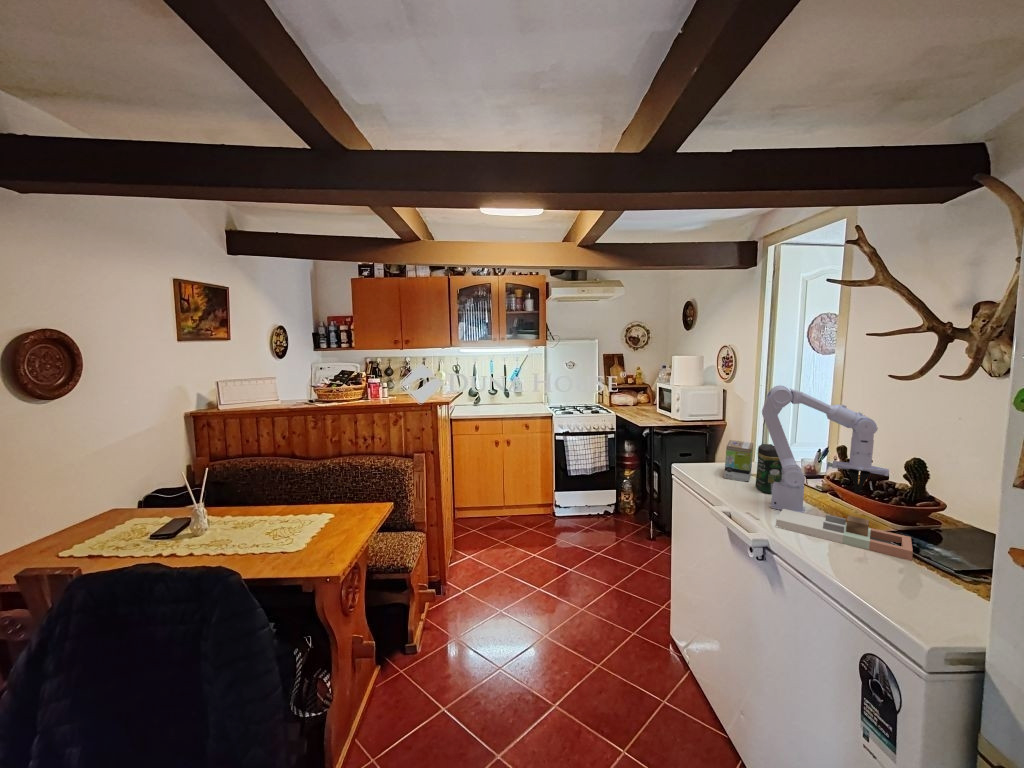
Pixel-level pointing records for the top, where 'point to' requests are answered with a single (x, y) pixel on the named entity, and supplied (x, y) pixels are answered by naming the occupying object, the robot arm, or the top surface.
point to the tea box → (738, 460)
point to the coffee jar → (768, 468)
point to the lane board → (845, 533)
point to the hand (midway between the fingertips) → (857, 492)
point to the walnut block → (857, 525)
